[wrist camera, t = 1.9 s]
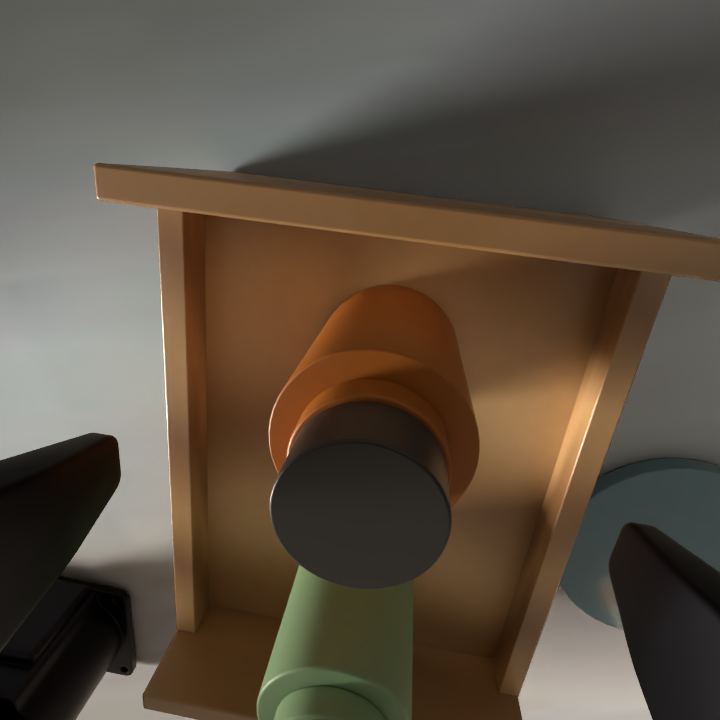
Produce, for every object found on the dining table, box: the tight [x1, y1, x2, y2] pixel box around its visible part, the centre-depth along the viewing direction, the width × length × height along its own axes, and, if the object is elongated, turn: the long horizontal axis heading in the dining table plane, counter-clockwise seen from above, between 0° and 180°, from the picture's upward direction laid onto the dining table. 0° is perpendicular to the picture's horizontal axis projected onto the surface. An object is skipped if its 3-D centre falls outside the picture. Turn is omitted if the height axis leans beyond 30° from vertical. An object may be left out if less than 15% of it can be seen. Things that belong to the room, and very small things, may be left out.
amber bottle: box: [269, 285, 480, 590], centre depth 11 cm, size 4×4×8 cm
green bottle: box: [257, 565, 414, 720], centre depth 15 cm, size 4×4×8 cm
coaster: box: [560, 458, 720, 630], centre depth 20 cm, size 9×9×1 cm
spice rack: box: [94, 163, 720, 720], centre depth 17 cm, size 19×14×8 cm
